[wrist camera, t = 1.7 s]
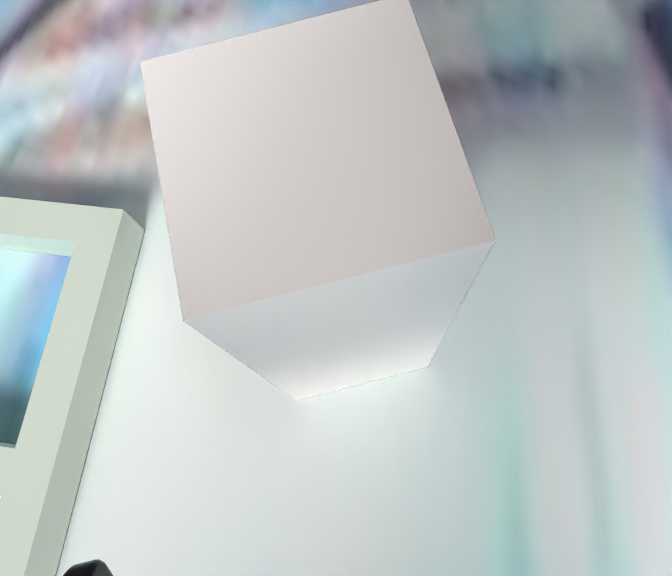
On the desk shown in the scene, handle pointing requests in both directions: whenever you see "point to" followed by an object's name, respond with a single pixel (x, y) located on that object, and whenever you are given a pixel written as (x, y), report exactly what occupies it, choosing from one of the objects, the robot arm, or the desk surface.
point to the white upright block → (317, 197)
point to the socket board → (62, 372)
